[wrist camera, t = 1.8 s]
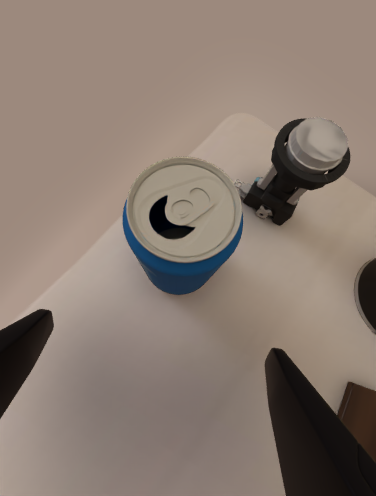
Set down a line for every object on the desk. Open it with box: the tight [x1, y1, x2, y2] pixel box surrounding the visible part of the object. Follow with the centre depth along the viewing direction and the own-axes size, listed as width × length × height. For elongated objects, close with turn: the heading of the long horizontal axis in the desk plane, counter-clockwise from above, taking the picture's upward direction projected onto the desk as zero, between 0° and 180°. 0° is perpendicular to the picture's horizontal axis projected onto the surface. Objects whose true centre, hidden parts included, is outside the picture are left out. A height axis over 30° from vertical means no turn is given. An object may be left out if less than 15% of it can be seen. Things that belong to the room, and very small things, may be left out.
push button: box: [234, 117, 350, 225], centre depth 20 cm, size 7×5×10 cm
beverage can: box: [123, 157, 243, 295], centre depth 17 cm, size 6×6×12 cm
